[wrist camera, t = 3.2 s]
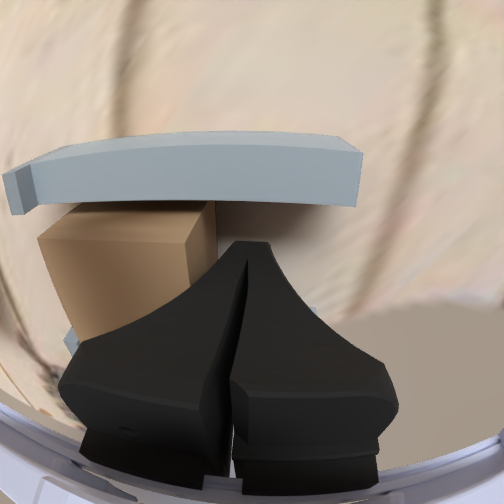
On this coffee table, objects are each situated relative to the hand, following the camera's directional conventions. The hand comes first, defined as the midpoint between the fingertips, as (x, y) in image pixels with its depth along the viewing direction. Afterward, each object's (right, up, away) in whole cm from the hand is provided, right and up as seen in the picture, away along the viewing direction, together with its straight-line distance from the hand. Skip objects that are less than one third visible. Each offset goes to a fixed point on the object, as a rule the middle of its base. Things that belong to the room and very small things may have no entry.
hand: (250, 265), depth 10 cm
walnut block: (-4, +1, +1) cm, 4 cm away
